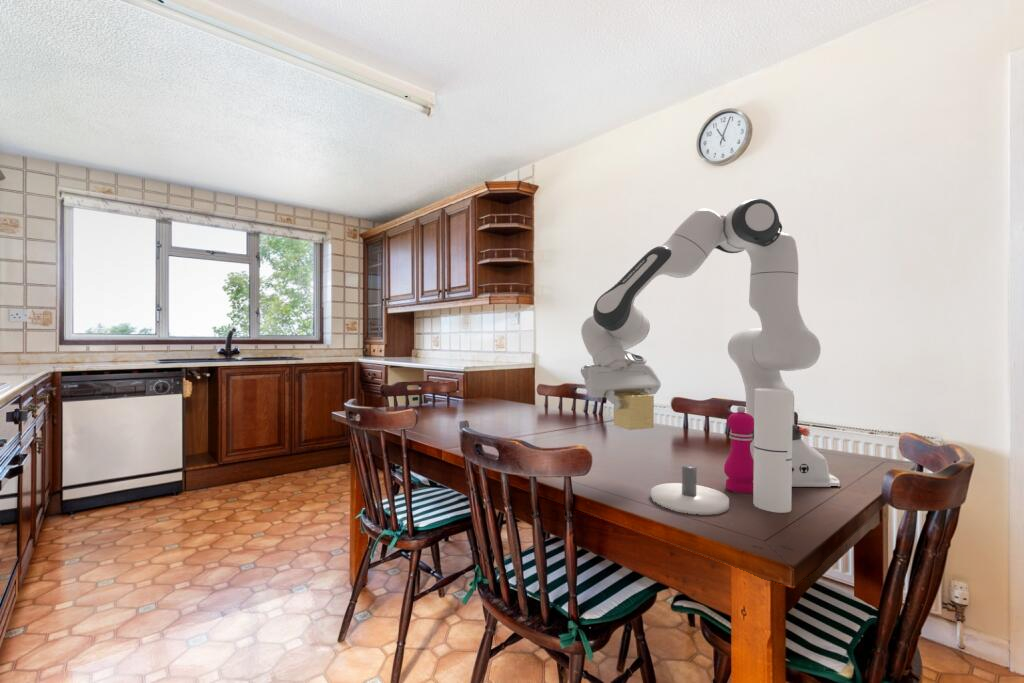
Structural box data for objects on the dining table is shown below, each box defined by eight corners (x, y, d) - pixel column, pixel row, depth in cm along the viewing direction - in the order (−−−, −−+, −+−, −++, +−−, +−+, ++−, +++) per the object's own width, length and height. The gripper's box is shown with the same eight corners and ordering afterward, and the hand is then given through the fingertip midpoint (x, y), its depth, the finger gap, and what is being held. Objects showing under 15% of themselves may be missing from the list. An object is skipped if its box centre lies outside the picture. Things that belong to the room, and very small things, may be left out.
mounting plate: (717, 491, 108) (717, 459, 108) (739, 517, 93) (739, 480, 93) (646, 487, 111) (647, 456, 111) (656, 511, 95) (657, 475, 95)
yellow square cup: (613, 424, 116) (614, 393, 116) (636, 423, 118) (636, 392, 118) (629, 430, 110) (629, 396, 110) (653, 428, 112) (653, 395, 112)
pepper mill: (753, 486, 113) (754, 404, 113) (760, 495, 106) (761, 408, 106) (721, 483, 115) (722, 403, 115) (726, 492, 108) (727, 407, 108)
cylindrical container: (746, 500, 102) (747, 388, 102) (777, 500, 103) (778, 388, 103) (766, 513, 95) (767, 392, 95) (799, 512, 96) (800, 392, 96)
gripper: (582, 357, 117) (603, 401, 108) (649, 356, 124) (674, 397, 115) (574, 373, 121) (593, 417, 112) (639, 371, 128) (662, 412, 119)
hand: (635, 407), depth 113 cm, fingers closed on yellow square cup, 7 cm apart
